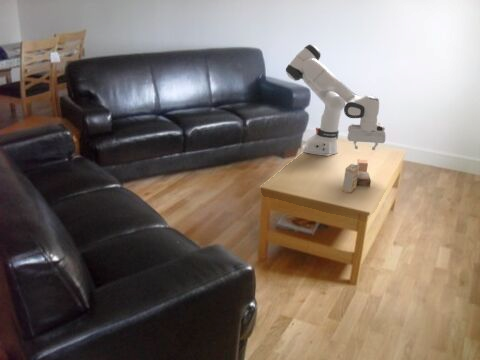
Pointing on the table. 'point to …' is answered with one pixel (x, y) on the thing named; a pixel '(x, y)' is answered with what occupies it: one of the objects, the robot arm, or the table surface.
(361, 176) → the plinth
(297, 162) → the table surface
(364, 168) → the terracotta block
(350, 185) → the supplement box
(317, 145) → the robot arm
